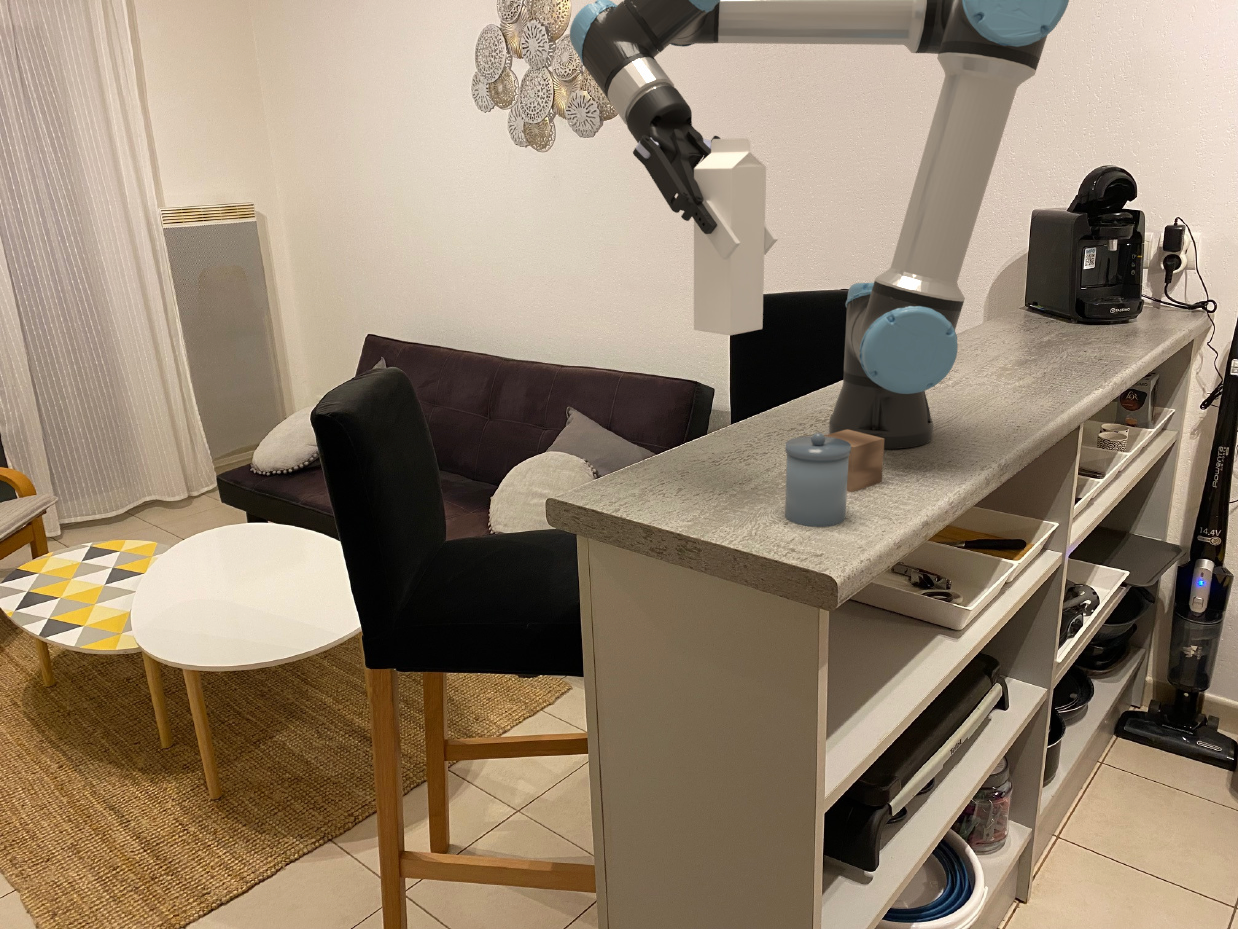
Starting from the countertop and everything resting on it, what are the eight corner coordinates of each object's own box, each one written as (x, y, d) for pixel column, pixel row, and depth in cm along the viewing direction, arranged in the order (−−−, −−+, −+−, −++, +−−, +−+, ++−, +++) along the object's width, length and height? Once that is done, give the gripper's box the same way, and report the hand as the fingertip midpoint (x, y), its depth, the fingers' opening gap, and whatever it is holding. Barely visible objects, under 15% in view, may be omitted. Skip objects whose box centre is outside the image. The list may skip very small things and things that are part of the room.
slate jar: (823, 502, 117) (827, 421, 114) (860, 521, 110) (864, 436, 107) (771, 511, 114) (773, 429, 111) (805, 531, 108) (808, 445, 105)
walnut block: (845, 472, 128) (847, 429, 126) (881, 482, 124) (884, 438, 122) (815, 481, 125) (816, 437, 123) (851, 492, 120) (853, 447, 118)
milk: (729, 336, 112) (731, 137, 105) (692, 330, 116) (692, 139, 109) (763, 329, 116) (767, 137, 109) (726, 323, 120) (728, 138, 113)
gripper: (688, 131, 126) (783, 264, 119) (578, 130, 114) (677, 278, 107) (719, 85, 121) (820, 221, 114) (607, 79, 108) (712, 231, 102)
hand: (750, 249), depth 110 cm, fingers closed on milk, 6 cm apart
